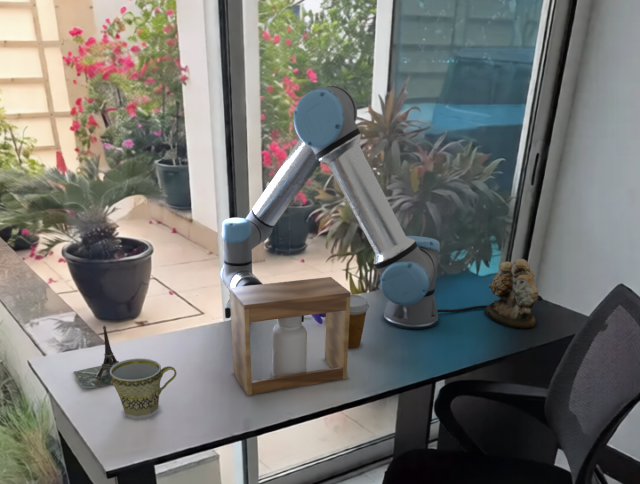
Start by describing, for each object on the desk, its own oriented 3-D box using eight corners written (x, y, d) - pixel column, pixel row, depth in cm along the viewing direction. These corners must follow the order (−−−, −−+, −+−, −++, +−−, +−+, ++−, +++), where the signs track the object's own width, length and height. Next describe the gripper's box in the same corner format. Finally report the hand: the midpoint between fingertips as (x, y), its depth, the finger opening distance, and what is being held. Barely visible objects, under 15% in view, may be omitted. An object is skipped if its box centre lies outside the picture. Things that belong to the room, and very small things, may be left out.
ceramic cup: (120, 427, 131) (113, 383, 126) (113, 404, 139) (106, 362, 134) (184, 416, 136) (180, 373, 130) (174, 395, 143) (170, 353, 138)
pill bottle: (301, 385, 149) (302, 323, 142) (268, 381, 151) (266, 319, 143) (310, 370, 156) (311, 310, 148) (277, 366, 157) (276, 307, 149)
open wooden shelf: (233, 374, 153) (229, 287, 142) (328, 359, 162) (330, 276, 150) (247, 395, 144) (244, 305, 133) (346, 378, 153) (350, 292, 142)
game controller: (321, 319, 174) (300, 300, 179) (324, 341, 180) (303, 323, 185) (350, 302, 177) (329, 284, 182) (353, 325, 183) (332, 307, 189)
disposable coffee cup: (347, 334, 175) (349, 291, 169) (373, 345, 170) (377, 301, 163) (322, 343, 170) (323, 299, 163) (348, 355, 164) (350, 310, 158)
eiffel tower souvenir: (138, 360, 157) (131, 307, 150) (151, 377, 150) (144, 322, 143) (73, 373, 151) (63, 318, 144) (84, 391, 143) (73, 335, 136)
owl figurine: (472, 310, 194) (481, 253, 185) (502, 304, 199) (512, 248, 190) (514, 332, 181) (526, 271, 172) (545, 325, 186) (558, 266, 177)
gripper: (293, 299, 178) (323, 328, 161) (202, 309, 169) (224, 341, 152) (293, 272, 174) (324, 299, 157) (200, 281, 165) (223, 310, 149)
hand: (275, 320), depth 155 cm, fingers open, 13 cm apart
